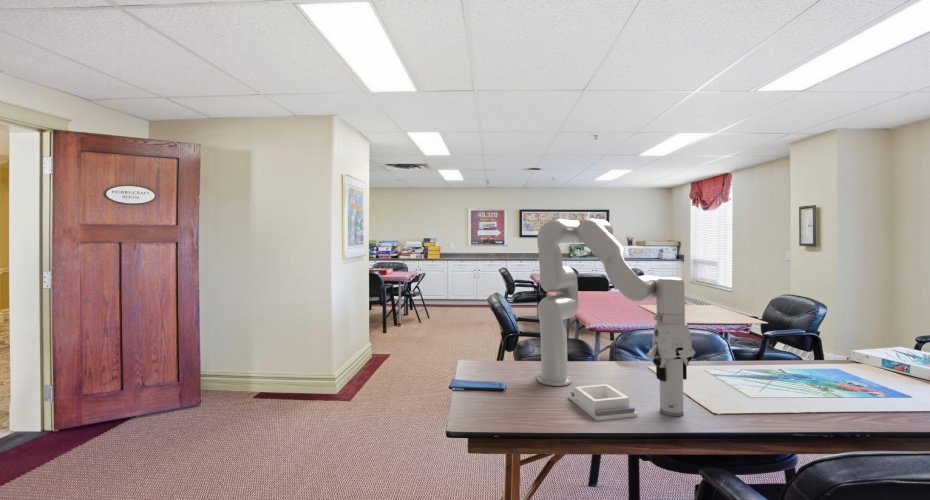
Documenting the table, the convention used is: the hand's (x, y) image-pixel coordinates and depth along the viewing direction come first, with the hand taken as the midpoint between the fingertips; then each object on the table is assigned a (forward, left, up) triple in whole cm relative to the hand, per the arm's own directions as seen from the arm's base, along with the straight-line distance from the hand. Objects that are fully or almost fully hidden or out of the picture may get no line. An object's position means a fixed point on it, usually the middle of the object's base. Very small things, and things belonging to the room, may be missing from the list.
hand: (671, 378), depth 120 cm
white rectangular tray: (-9, -18, -10) cm, 23 cm away
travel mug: (0, 0, -10) cm, 10 cm away
